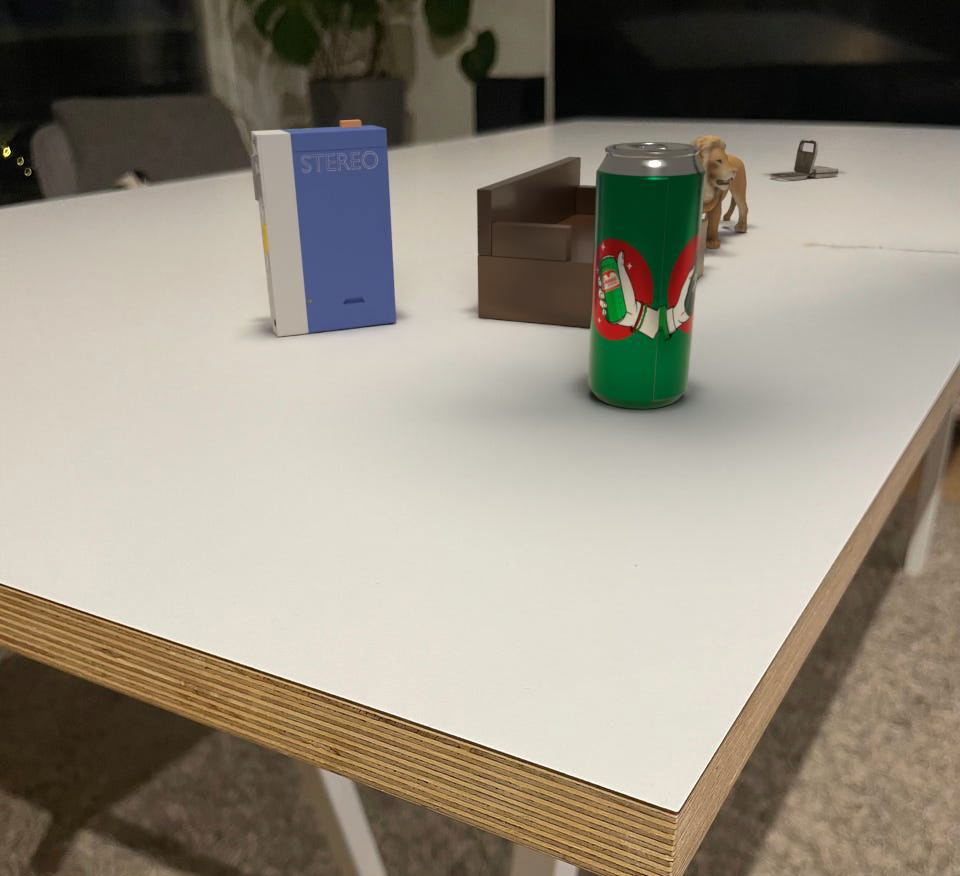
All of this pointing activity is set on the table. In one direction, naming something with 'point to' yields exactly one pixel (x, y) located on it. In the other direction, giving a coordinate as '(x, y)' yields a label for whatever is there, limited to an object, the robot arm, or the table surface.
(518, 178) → the brown toy sofa
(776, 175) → the strap clip
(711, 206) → the lion figurine
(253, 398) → the table surface
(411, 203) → the table surface
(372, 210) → the walkman
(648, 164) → the soda can
